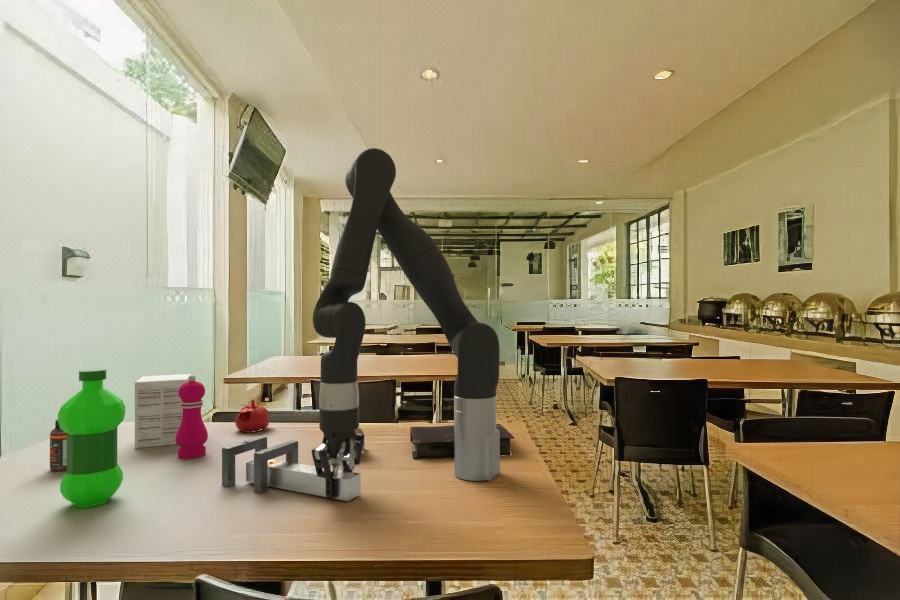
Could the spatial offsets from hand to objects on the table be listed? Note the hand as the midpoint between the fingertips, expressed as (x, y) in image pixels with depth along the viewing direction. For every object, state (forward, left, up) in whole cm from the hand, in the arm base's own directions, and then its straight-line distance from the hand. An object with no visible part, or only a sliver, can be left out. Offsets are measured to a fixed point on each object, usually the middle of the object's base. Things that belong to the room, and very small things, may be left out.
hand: (339, 493), depth 99 cm
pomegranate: (+58, -33, -1) cm, 67 cm away
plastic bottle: (+41, +22, -1) cm, 47 cm away
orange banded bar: (+10, 0, 0) cm, 10 cm away
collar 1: (+25, 0, -1) cm, 25 cm away
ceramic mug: (+17, -25, -1) cm, 30 cm away
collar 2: (+16, 0, -1) cm, 16 cm away
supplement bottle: (+69, +12, -1) cm, 70 cm away
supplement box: (+71, -14, -1) cm, 73 cm away
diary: (-7, -41, -1) cm, 41 cm away
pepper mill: (+51, -7, -1) cm, 52 cm away
